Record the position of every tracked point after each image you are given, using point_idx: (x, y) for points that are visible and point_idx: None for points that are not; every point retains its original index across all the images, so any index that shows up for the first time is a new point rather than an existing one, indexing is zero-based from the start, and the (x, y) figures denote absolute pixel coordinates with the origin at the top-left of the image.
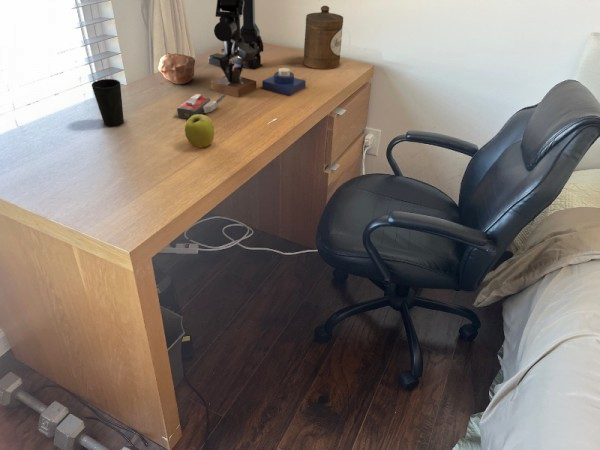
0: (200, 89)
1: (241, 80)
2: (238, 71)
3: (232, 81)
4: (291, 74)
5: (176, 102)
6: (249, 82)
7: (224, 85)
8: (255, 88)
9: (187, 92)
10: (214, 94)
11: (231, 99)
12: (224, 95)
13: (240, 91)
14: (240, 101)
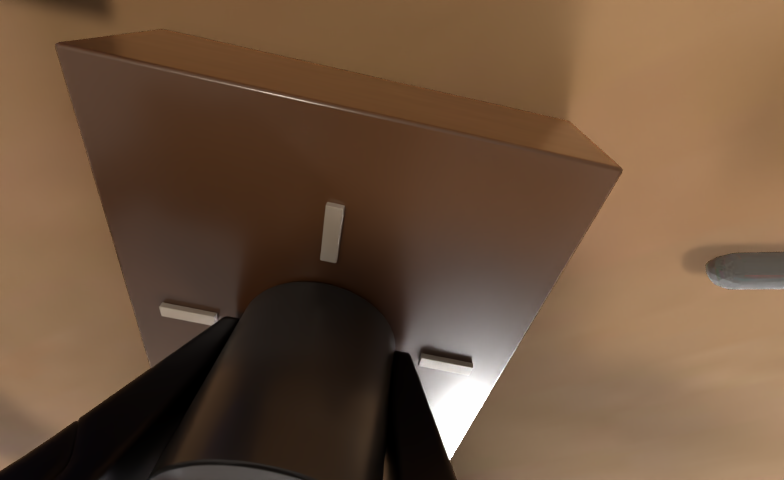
0: (471, 443)
1: (240, 273)
2: (252, 438)
3: (392, 345)
4: None
5: (769, 474)
6: (225, 129)
7: (501, 368)
8: (176, 35)
9: (555, 474)
10: (544, 354)
11: (663, 173)
12: (751, 265)
13: (547, 134)
14: (744, 15)
